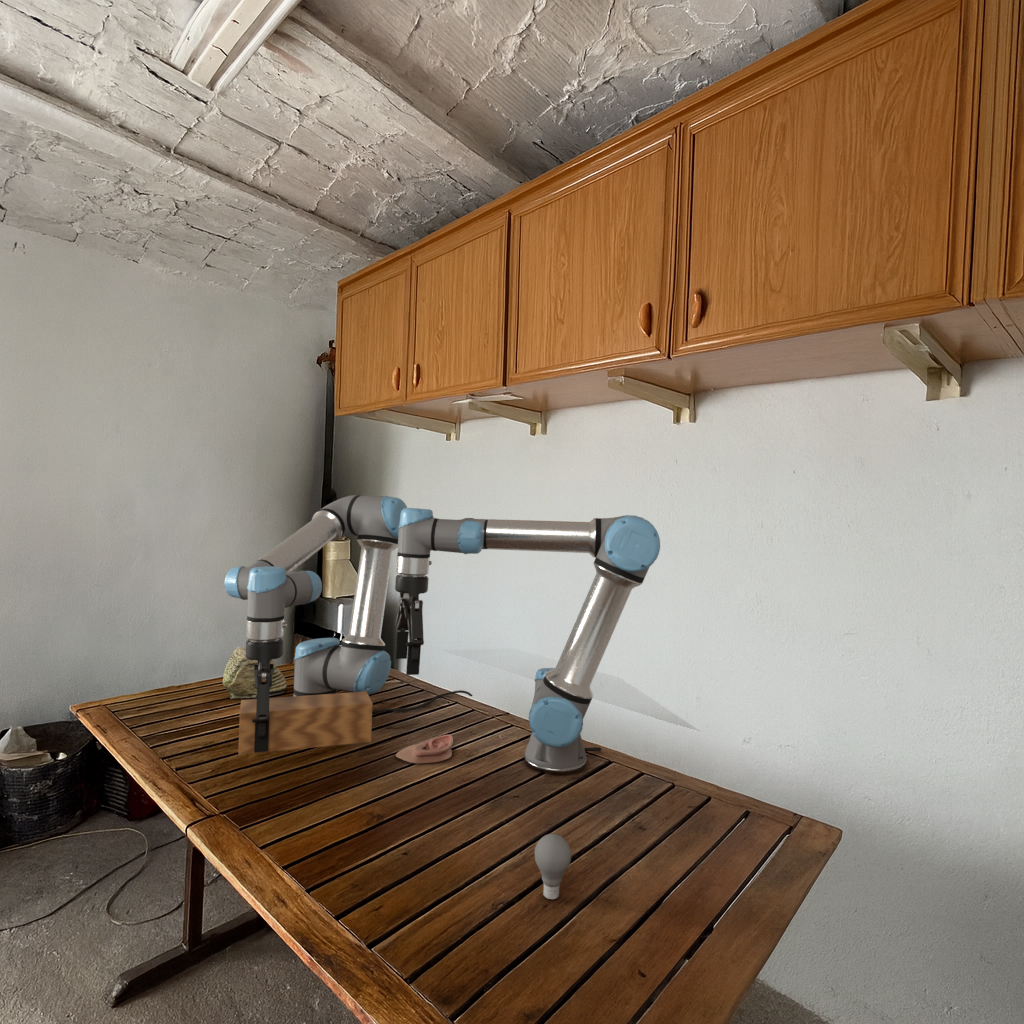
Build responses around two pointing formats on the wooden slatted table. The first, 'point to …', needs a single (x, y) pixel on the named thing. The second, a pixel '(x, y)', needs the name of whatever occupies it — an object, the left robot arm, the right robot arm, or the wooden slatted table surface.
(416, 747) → the anatomical model
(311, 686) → the left robot arm
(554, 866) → the light bulb
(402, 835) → the wooden slatted table surface
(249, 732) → the box
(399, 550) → the right robot arm
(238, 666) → the fossil
